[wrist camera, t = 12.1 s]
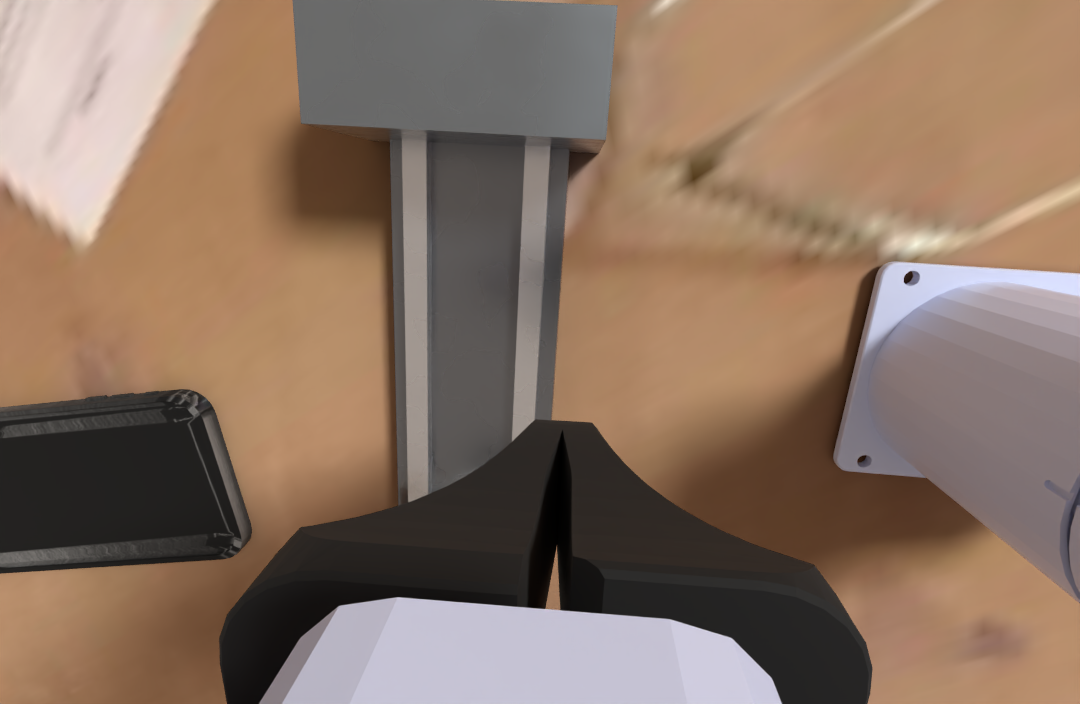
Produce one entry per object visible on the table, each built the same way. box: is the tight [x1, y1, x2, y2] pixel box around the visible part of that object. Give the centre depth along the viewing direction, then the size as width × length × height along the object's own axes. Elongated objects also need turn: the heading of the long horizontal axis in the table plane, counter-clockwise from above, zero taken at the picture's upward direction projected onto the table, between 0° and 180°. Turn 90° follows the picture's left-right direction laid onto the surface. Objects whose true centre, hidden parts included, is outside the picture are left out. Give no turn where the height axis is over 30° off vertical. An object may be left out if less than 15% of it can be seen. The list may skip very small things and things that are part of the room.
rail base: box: [293, 0, 617, 506], centre depth 19 cm, size 8×30×6 cm, turn 177°
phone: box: [0, 389, 252, 573], centre depth 24 cm, size 8×1×15 cm
